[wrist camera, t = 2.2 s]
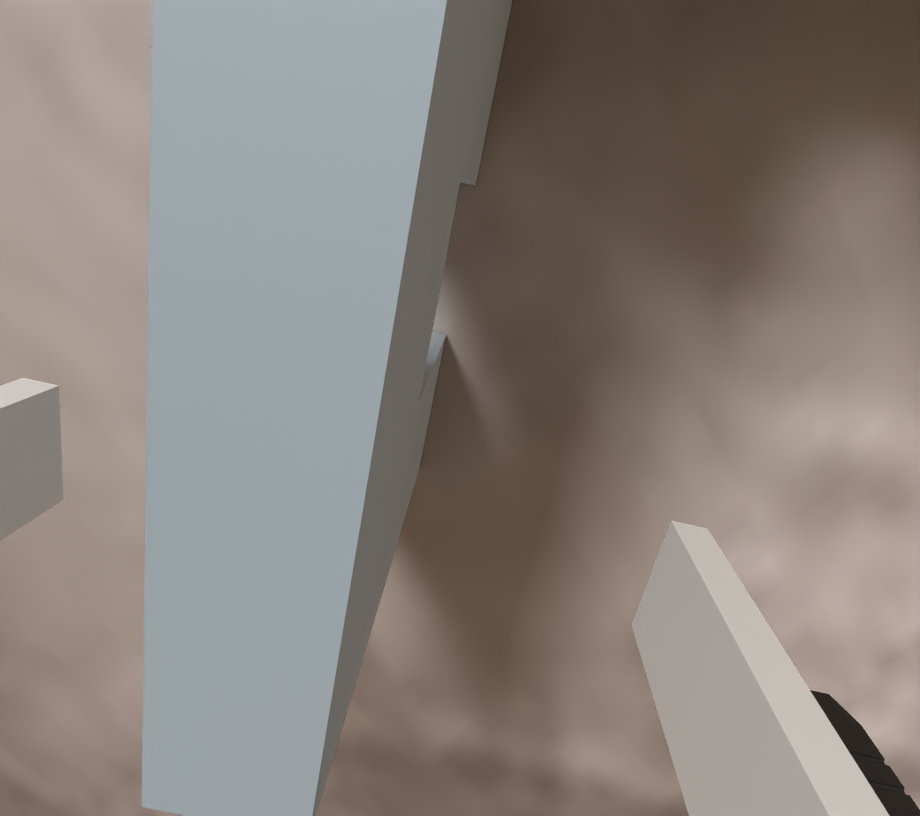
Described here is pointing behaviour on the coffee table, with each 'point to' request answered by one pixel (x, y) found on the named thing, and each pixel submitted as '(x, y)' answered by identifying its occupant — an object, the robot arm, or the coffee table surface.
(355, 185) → the cross plate
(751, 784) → the robot arm
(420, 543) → the coffee table surface
